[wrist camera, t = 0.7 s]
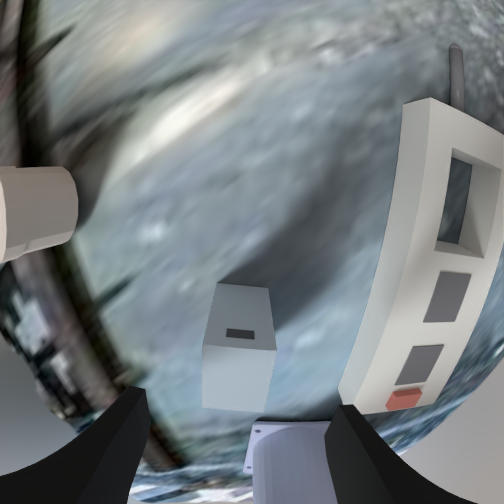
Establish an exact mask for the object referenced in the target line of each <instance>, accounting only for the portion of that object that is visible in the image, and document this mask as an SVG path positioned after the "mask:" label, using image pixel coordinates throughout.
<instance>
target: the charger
mask: <svg viewBox="0 0 504 504" xmlns="http://www.w3.org/2000/svg"><path fill="white" fill-rule="evenodd" d="M276 353H277V347H276V340H275V333H274V326H273V319H272V311H271V304H270V297H269V290H268V288H262V287H252V286H242V285H232V284H222V283H217V284H216V289H215V293H214V297H213V301H212V305H211V310H210V314H209V318H208V323H207V327H206V331H205V336H204V340H203V346H202V407H204V408H213V409H223V410H233V411H247V412H264V409H265V404H266V400H267V395H268V391H269V386H270V382H271V377H272V372H273V368H274V363H275V358H276Z"/></svg>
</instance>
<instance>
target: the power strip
mask: <svg viewBox="0 0 504 504" xmlns="http://www.w3.org/2000/svg"><path fill="white" fill-rule="evenodd" d="M449 57H450V83H451V98H450V106H449V105H447V104H444V103H442V102H440V101H438V100H435V99H433V98H431V97H430V98H426V99H422V100H418V101H414V102H411V103H407V104H403V111H402V124H401V135H400V145H399V153H398V161H397V169H396V176H395V182H394V188H393V195H392V200H391V206H390V211H389V216H388V221H387V226H386V231H385V236H384V240H383V245H382V249H381V253H380V257H379V262H378V266H377V269H376V273H375V277H374V281H373V285H372V288H371V292H370V295H369V299H368V302H367V305H366V309H365V312H364V315H363V318H362V322H361V325H360V328H359V331H358V334H357V337H356V340H355V343H354V345H353V348H352V351H351V354H350V357H349V359H348V362H347V365H346V367H345V370H344V373H343V375H342V378H341V380H340V383H339V385H338V391H339V394H340V396H341V399H342V402H343V405H349V404H354V406H355V407H356V408H357V409H358V410H359V412H360V413H361V414H372V413H380V412H388V411H395V410H402V409H408V408H413V407H419V406H424V405H429V404H434V402H435V400H436V399H437V397H438V396H439V394H440V392H441V391H442V389H443V387H444V386H445V384H446V382H447V381H448V379H449V377H450V375H451V374H452V372H453V370H454V368H455V366H456V364H457V362H458V361H459V359H460V357H461V355H462V353H463V351H464V349H465V347H466V345H467V343H468V340H469V338H470V336H471V334H472V332H473V329H474V327H475V325H476V323H477V320H478V318H479V315H480V313H481V310H482V308H483V305H484V303H485V300H486V297H487V295H488V292H489V289H490V286H491V283H492V280H493V277H494V274H495V271H496V268H497V264H498V261H499V257H500V254H501V250H502V246H503V242H504V135H503V134H501V133H499V132H498V131H496V130H494V129H493V128H491V127H489V126H487V125H486V124H484V123H482V122H480V121H478V120H477V119H475V118H473V117H471V116H469V115H467V114H465V113H464V103H465V93H464V65H463V52H462V49H461V48H460V46H458V45H456V44H452V45H450V47H449ZM451 157H453V158H456V159H458V160H461V161H463V162H466V163H468V164H471V165H472V172H471V180H470V186H469V193H468V199H467V204H466V210H465V215H464V220H463V224H462V229H461V233H460V237H459V241H458V244H453V243H448V242H442V241H436V240H437V236H438V232H439V227H440V223H441V218H442V213H443V208H444V203H445V197H446V191H447V185H448V179H449V171H450V163H451Z"/></svg>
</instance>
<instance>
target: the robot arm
mask: <svg viewBox="0 0 504 504" xmlns="http://www.w3.org/2000/svg"><path fill="white" fill-rule="evenodd" d="M150 424H151V419H150V414H149V409H148V403H147V397H146V391H145V389H142V388H138V387H133V386H129V387H127V388H126V389H125V391H124V392H123V393H122V394H121V395H120V396H119V397H118V398H117V399H116V400H115V402H114V403H113V404H112V405H111V406H110V407H109V408H108V409H107V410H106V411H105V412H104V413H103V414H102V415H101V416H100V417H99V418H98V419H97V420H95V421H94V422H93V423H92V424H91V425H90V426H89V427H88V428H87V429H85V430H84V431H83V432H82V433H81V434H79V435H78V436H77V437H76V438H75V439H73V440H72V441H71V442H69V443H68V444H67V445H65V446H64V447H62V448H61V449H59V450H58V451H56V452H54V453H53V454H51V455H49V456H48V457H46V458H45V459H42V460H40V461H39V462H37V463H35V464H32V465H30V466H27V467H25V468H23V469H20V470H18V471H16V472H12V473H9V474H6V475H2V476H0V504H127V500H128V496H129V492H130V488H131V485H132V482H133V479H134V476H135V474H136V471H137V468H138V465H139V462H140V460H141V457H142V454H143V451H144V448H145V445H146V442H147V438H148V433H149V428H150ZM243 472H244V473H253V504H477V503H474V502H471V501H468V500H466V499H463V498H460V497H458V496H456V495H453V494H451V493H449V492H447V491H446V490H444V489H442V488H440V487H438V486H437V485H435V484H434V483H432V482H430V481H429V480H427V479H426V478H424V477H423V476H421V475H420V474H419V473H418V472H416V471H415V470H414V469H413V468H411V467H410V466H409V465H408V464H407V463H405V462H404V461H403V460H402V459H401V458H400V457H399V456H398V455H397V454H396V453H395V452H394V451H393V450H392V449H391V448H390V447H389V446H388V445H387V444H386V442H385V441H384V440H383V439H382V438H381V437H380V436H379V435H378V433H377V432H376V431H375V430H374V429H373V428H372V426H371V425H370V424H369V423H368V422H367V420H366V419H365V418H364V417H363V415H362V414H361V413H360V412H359V410H358V409H357V408H356V407H355V406H354V404H349V405H339V406H338V408H337V410H336V412H335V414H334V416H333V419H332V421H320V422H265V421H257V422H254V423H253V425H252V430H251V435H250V440H249V444H248V449H247V454H246V458H245V463H244V467H243Z"/></svg>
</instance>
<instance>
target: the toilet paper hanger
mask: <svg viewBox="0 0 504 504" xmlns="http://www.w3.org/2000/svg"><path fill="white" fill-rule="evenodd" d="M77 218H78V196H77V191H76V186H75V182H74V180H73V178H72V176H71V174H70V172H69V171H67V170H66V169H65V168H64V167H62V166H61V167H31V168H16V167H15V166H6V167H0V263H3V262H6V261H10V260H13V259H16V258H18V257H20V256H21V255H23V254H25V253H29V252H32V251H36V250H40V249H43V248H47V247H51V246H55V245H59V244H62V243H64V242H66V241H68V240H69V239H70V237H71V236H72V234H73V232H74V231H75V227H76V223H77Z"/></svg>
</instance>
